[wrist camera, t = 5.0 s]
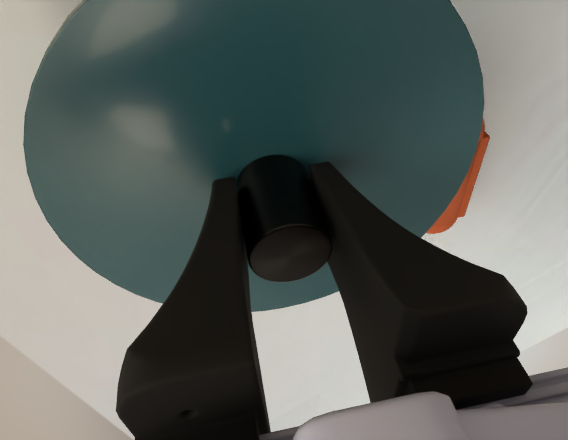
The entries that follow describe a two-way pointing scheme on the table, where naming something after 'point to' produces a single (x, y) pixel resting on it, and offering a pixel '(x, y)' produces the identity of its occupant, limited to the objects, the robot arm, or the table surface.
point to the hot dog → (463, 189)
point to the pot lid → (246, 129)
